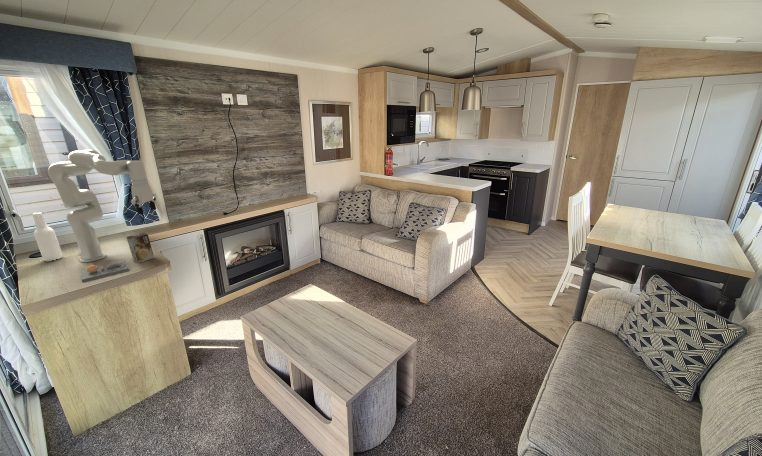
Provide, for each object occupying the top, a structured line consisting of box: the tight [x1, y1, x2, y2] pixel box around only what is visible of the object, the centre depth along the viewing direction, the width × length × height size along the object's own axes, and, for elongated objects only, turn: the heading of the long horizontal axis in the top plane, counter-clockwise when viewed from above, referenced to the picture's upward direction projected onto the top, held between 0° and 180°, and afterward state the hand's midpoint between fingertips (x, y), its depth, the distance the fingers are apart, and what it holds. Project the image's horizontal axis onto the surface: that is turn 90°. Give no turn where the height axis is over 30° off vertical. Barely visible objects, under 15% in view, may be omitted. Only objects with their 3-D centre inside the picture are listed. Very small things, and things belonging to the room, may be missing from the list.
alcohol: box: [32, 211, 64, 262], centre depth 193 cm, size 9×9×30 cm
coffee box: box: [126, 232, 155, 264], centre depth 193 cm, size 9×6×16 cm
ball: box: [86, 264, 98, 273], centre depth 174 cm, size 4×4×4 cm
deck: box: [80, 260, 130, 283], centre depth 179 cm, size 20×14×2 cm
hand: (147, 211), depth 184 cm, fingers open, 9 cm apart
